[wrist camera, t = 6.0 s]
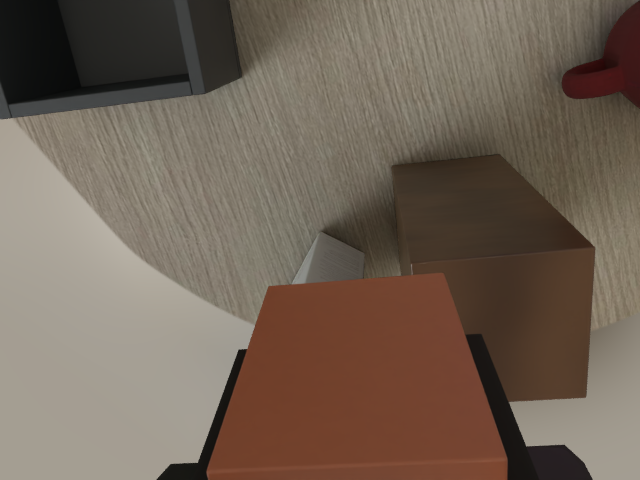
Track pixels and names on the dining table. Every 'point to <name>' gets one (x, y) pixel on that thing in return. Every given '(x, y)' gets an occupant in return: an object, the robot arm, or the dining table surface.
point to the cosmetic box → (330, 262)
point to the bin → (111, 52)
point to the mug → (611, 64)
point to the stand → (502, 268)
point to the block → (359, 388)
